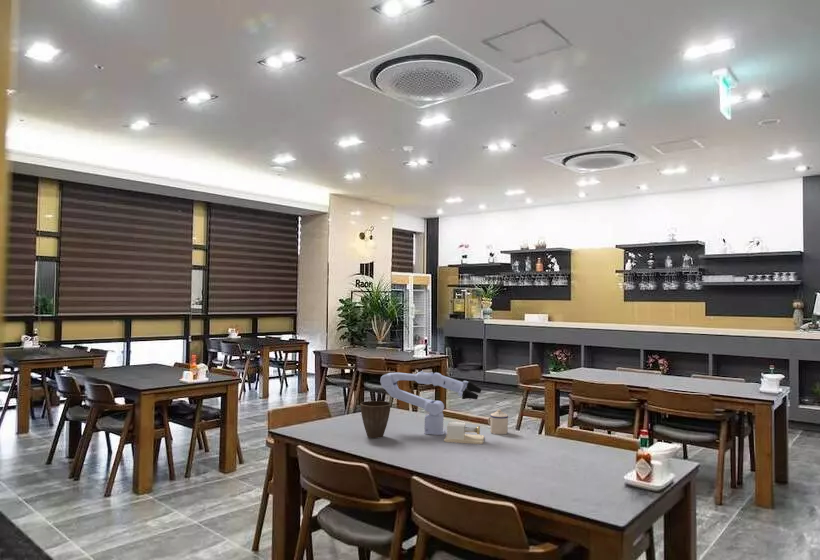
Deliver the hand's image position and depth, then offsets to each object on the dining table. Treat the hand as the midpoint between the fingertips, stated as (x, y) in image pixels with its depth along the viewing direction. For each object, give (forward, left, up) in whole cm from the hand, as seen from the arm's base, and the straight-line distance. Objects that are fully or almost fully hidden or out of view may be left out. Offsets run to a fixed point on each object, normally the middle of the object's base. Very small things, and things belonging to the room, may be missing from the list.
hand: (479, 394), depth 282 cm
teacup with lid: (+9, +12, -21) cm, 25 cm away
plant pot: (-49, -13, -21) cm, 55 cm away
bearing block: (-6, -8, -21) cm, 23 cm away
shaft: (-5, -8, -18) cm, 20 cm away
